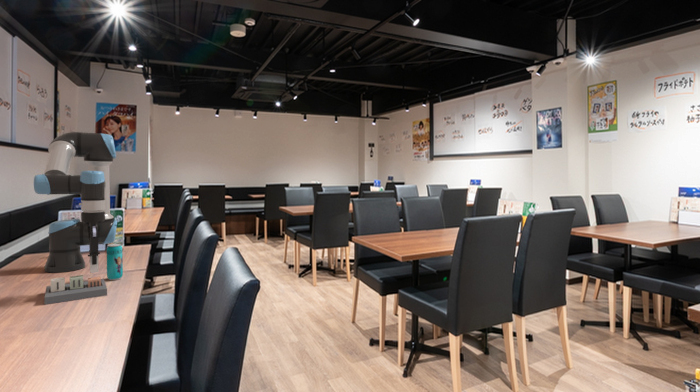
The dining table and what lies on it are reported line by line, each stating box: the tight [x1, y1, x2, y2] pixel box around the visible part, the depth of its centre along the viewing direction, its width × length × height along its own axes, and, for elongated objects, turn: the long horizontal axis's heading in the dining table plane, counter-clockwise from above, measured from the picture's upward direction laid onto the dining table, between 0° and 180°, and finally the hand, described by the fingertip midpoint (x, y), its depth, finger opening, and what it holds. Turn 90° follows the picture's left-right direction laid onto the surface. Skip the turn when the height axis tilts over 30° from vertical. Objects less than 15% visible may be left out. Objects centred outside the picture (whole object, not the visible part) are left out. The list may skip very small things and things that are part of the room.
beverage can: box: [106, 243, 124, 282], centre depth 158 cm, size 6×6×15 cm
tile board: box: [43, 278, 108, 305], centre depth 138 cm, size 16×18×2 cm
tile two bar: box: [69, 274, 84, 290], centre depth 138 cm, size 4×4×4 cm
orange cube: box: [87, 276, 102, 288], centre depth 141 cm, size 4×4×4 cm
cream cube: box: [50, 276, 66, 292], centre depth 134 cm, size 4×4×4 cm
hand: (94, 272), depth 141 cm, fingers closed
